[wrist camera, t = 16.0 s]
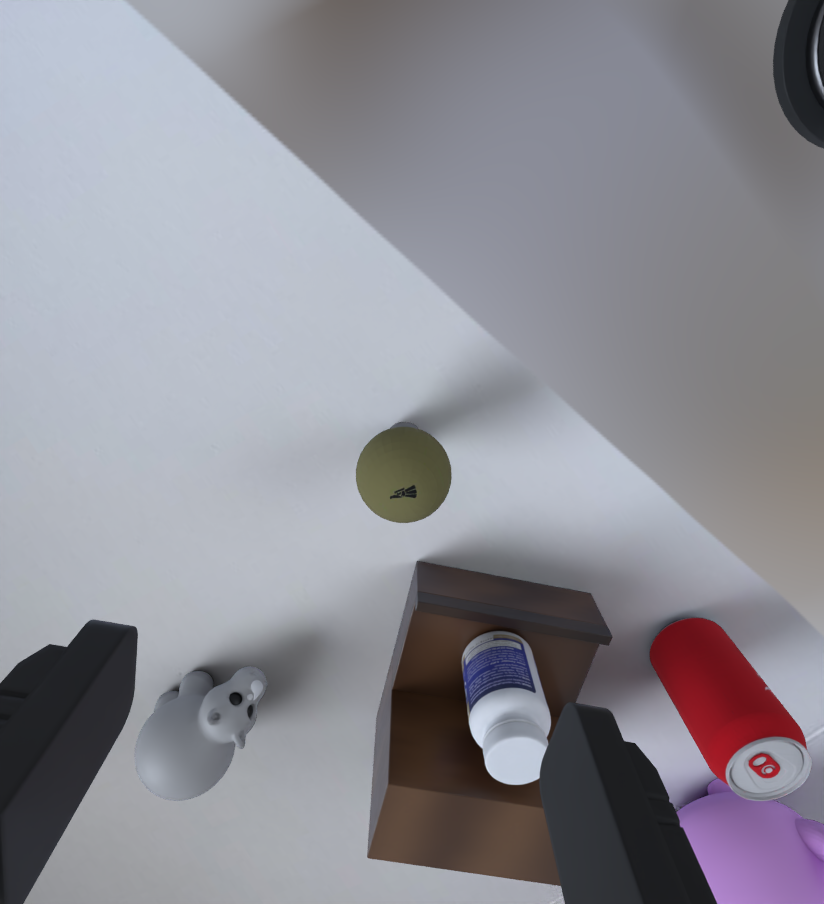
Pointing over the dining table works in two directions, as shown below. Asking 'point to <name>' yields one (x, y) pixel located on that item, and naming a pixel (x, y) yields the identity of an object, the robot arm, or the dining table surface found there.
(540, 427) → the dining table surface
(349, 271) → the dining table surface
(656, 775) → the robot arm
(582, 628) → the rack
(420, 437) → the light bulb
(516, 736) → the pill bottle
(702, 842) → the teapot
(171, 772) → the chubby cartoon animal
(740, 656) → the beverage can
